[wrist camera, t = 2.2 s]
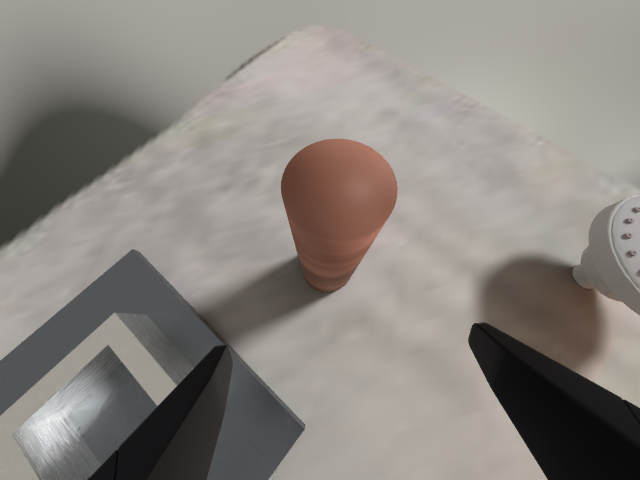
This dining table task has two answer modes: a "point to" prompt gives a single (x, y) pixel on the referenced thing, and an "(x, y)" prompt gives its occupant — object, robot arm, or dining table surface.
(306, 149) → the peg
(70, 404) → the dock
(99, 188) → the dining table surface
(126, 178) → the dining table surface
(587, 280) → the showerhead
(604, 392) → the robot arm
